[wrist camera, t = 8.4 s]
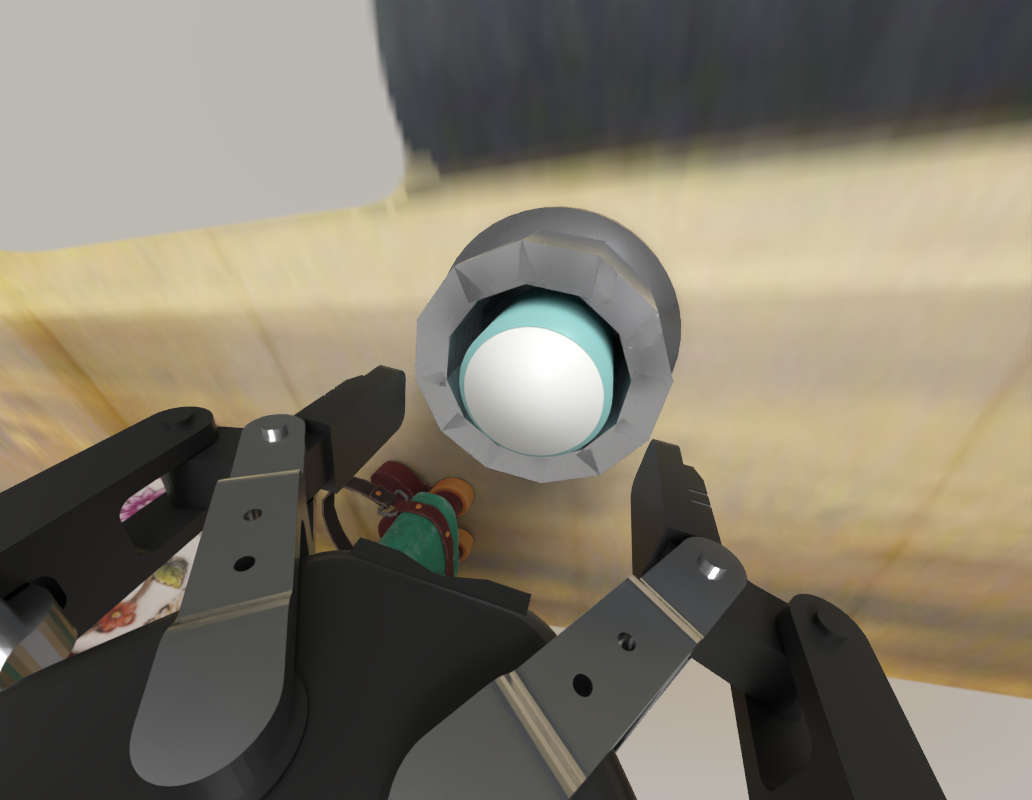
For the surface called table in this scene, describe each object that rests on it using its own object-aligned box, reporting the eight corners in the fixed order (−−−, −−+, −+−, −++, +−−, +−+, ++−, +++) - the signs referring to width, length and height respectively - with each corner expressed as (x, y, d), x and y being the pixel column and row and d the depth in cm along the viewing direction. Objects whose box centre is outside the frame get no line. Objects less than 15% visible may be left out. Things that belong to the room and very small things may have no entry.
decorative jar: (323, 477, 29) (-8, 797, 14) (302, 559, 35) (55, 846, 20) (181, 401, 29) (-319, 641, 13) (184, 497, 35) (-159, 739, 19)
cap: (630, 299, 17) (634, 342, 12) (595, 407, 20) (588, 477, 15) (506, 271, 18) (463, 302, 13) (490, 380, 21) (450, 439, 16)
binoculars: (215, 552, 19) (393, 627, 16) (360, 438, 28) (490, 475, 25) (262, 654, 23) (408, 726, 20) (374, 527, 32) (486, 566, 29)
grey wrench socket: (722, 236, 16) (763, 254, 12) (632, 458, 22) (636, 527, 18) (452, 183, 18) (394, 180, 13) (437, 405, 24) (393, 456, 19)
